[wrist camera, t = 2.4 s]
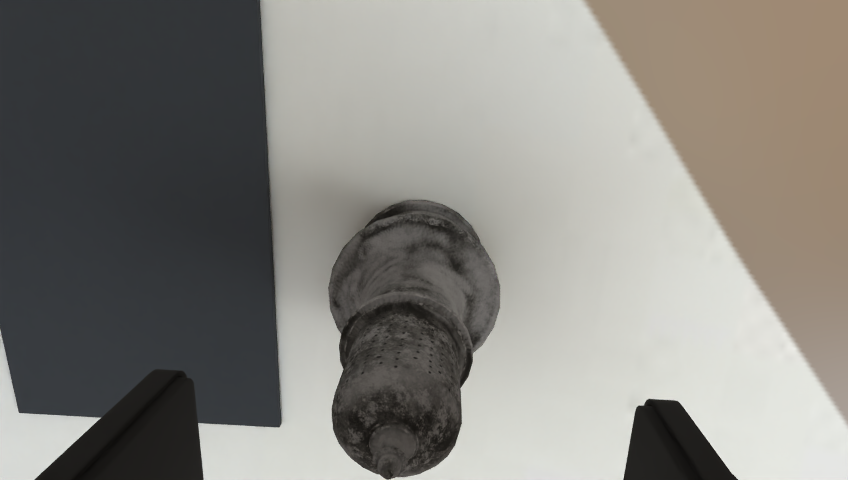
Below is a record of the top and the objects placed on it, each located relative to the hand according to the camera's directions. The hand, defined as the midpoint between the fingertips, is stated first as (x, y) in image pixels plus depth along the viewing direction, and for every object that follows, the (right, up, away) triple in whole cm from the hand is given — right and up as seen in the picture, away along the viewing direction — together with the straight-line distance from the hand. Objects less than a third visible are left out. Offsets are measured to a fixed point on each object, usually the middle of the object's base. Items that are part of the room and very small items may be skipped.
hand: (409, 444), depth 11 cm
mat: (-12, +6, +10) cm, 17 cm away
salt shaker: (0, +3, +10) cm, 11 cm away
